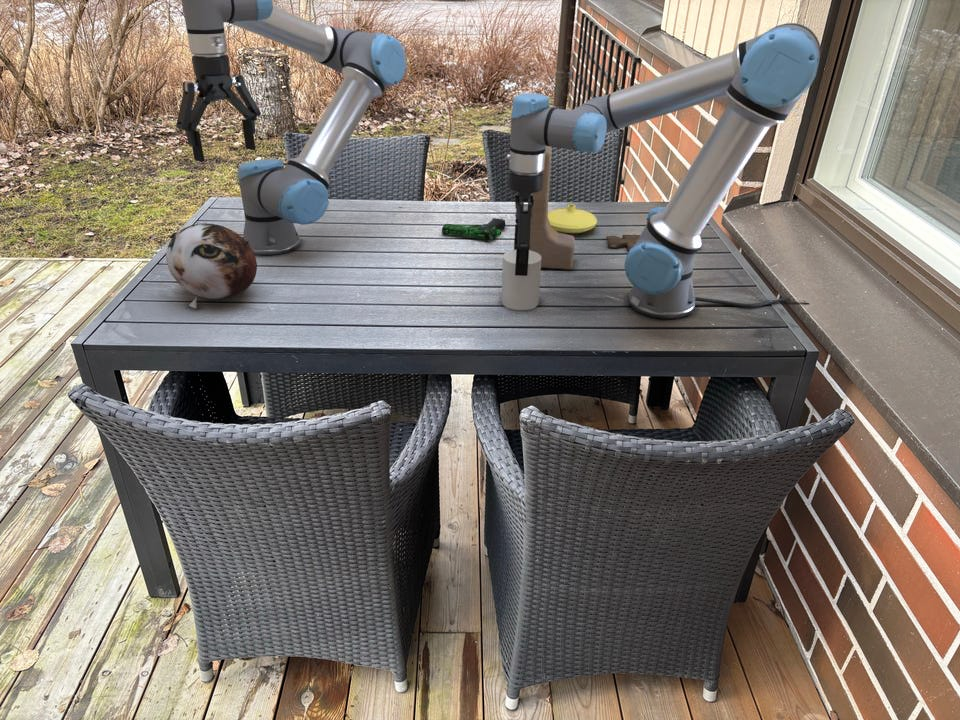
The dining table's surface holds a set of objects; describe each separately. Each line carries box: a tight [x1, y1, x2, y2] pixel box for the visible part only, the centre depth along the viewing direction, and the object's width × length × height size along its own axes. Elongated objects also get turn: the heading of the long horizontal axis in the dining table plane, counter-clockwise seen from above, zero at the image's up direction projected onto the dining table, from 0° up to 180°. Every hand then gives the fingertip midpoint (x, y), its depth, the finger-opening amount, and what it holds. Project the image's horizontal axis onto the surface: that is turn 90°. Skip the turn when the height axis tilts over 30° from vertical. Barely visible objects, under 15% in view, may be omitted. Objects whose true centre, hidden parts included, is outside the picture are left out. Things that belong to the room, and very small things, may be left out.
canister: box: [500, 249, 542, 311], centre depth 166 cm, size 9×9×12 cm
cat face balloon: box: [165, 222, 258, 309], centre depth 165 cm, size 22×18×20 cm
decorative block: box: [515, 146, 576, 271], centre depth 181 cm, size 8×15×30 cm, turn 82°
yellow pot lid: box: [547, 203, 598, 234], centre depth 209 cm, size 16×16×7 cm
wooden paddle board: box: [605, 234, 641, 251], centre depth 200 cm, size 26×2×10 cm
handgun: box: [441, 217, 506, 242], centre depth 207 cm, size 16×3×15 cm
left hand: (225, 154), depth 163 cm, fingers open, 13 cm apart
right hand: (520, 262), depth 164 cm, fingers open, 13 cm apart
